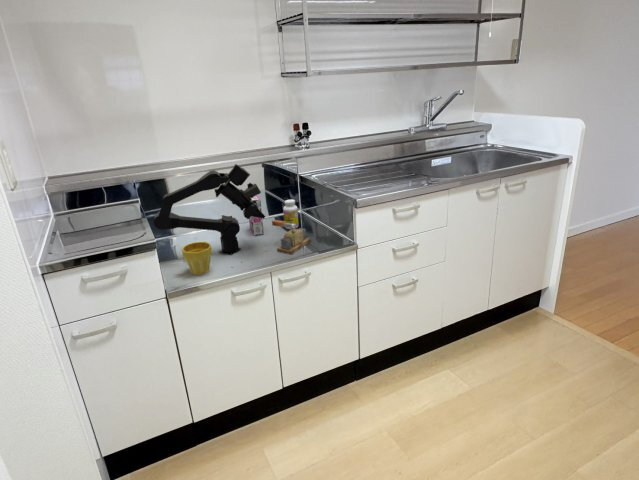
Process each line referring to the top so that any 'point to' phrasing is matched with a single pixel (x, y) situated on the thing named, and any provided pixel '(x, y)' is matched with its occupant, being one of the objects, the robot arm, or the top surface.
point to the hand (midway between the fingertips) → (264, 217)
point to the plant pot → (198, 256)
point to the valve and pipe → (293, 238)
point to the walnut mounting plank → (294, 247)
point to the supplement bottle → (290, 213)
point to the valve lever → (283, 224)
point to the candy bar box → (256, 220)
